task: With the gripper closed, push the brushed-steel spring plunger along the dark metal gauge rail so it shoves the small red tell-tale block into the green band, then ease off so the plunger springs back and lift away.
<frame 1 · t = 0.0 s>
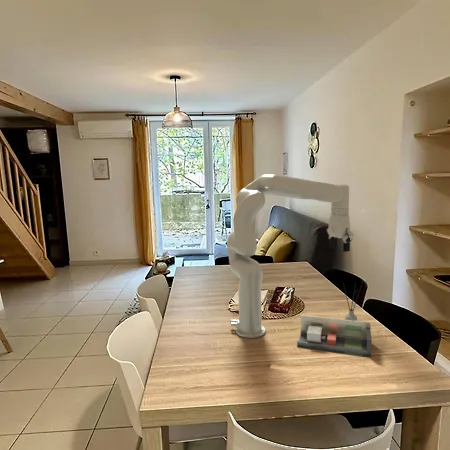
hand: (339, 249, 158), 31 cm above the table, tool pointing down, fingers open, 9 cm apart
marker: (331, 344, 132), point 1 cm above the table, touching gauge
plunger: (316, 336, 134), point 4 cm above the table, slide at 0.0 cm
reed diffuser: (350, 327, 149), on the table
gauge: (333, 347, 132), on the table
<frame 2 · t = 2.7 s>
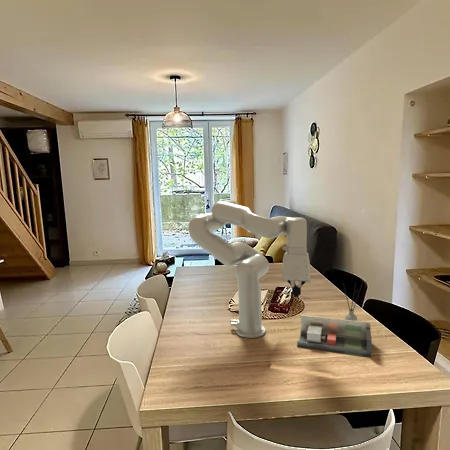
hand: (296, 296, 134), 19 cm above the table, tool pointing down, fingers closed
nothing on the table moved.
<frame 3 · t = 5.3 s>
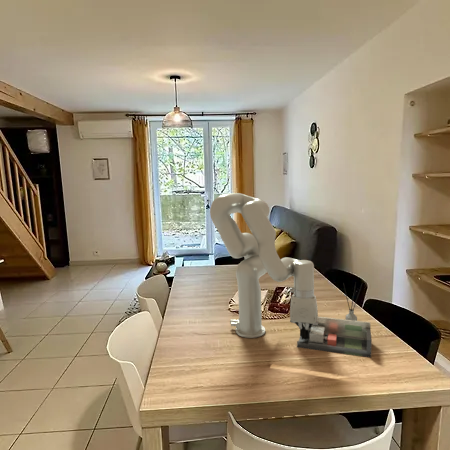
hand: (304, 337, 135), 2 cm above the table, tool pointing down, fingers closed
marker: (332, 344, 132), point 1 cm above the table, touching gauge, plunger
plunger: (319, 336, 133), point 4 cm above the table, slide at 1.0 cm, touching gripper, marker
everything else where it was.
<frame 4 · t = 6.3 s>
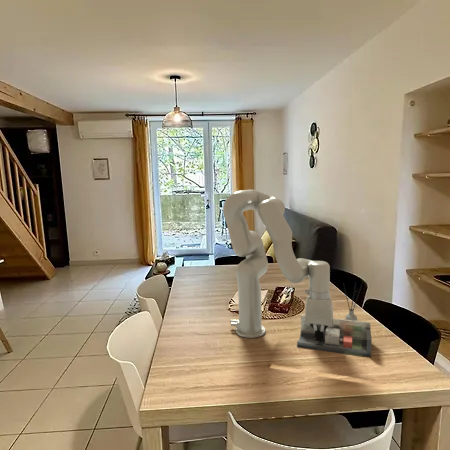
hand: (319, 339, 134), 2 cm above the table, tool pointing down, fingers closed
marker: (347, 346, 130), point 1 cm above the table
plunger: (334, 338, 131), point 4 cm above the table, slide at 6.6 cm, touching gripper
everything else where it was.
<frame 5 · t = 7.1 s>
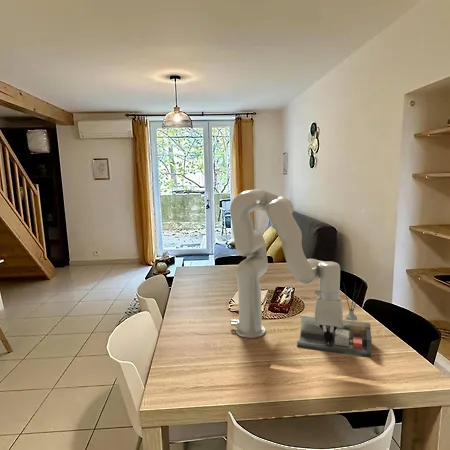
hand: (328, 340, 132), 2 cm above the table, tool pointing down, fingers closed
marker: (357, 347, 129), point 1 cm above the table, touching gauge, plunger
plunger: (344, 339, 130), point 4 cm above the table, slide at 10.0 cm, touching gripper, marker
everything else where it was.
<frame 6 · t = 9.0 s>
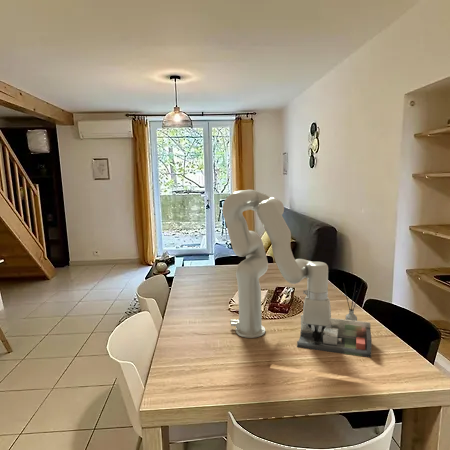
hand: (316, 339, 134), 2 cm above the table, tool pointing down, fingers closed
marker: (360, 348, 129), point 1 cm above the table, touching gauge
plunger: (332, 338, 132), point 4 cm above the table, slide at 5.9 cm, touching gripper
everything else where it was.
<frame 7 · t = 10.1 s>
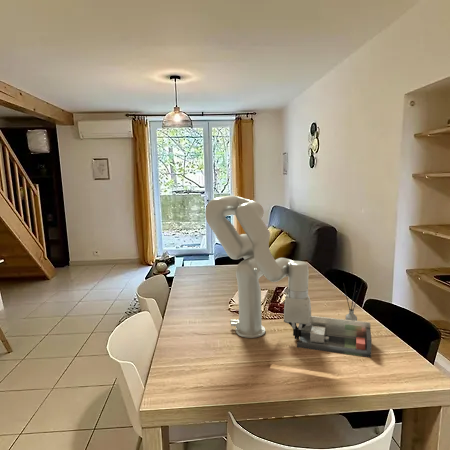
hand: (297, 337, 137), 2 cm above the table, tool pointing down, fingers closed
plunger: (320, 336, 133), point 4 cm above the table, slide at 1.2 cm
everything else where it was.
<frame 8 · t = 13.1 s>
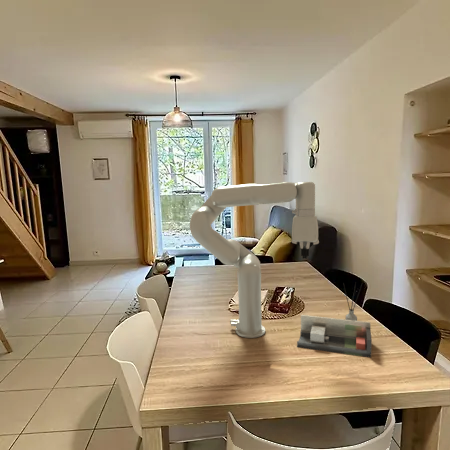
hand: (305, 257, 141), 32 cm above the table, tool pointing down, fingers closed
nothing on the table moved.
at the end: marker inside the target area on the gauge (2.3 cm from its centre), point 1.2 cm above the gauge's base; plunger slide at 1.2 cm; marker tilted 0° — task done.
